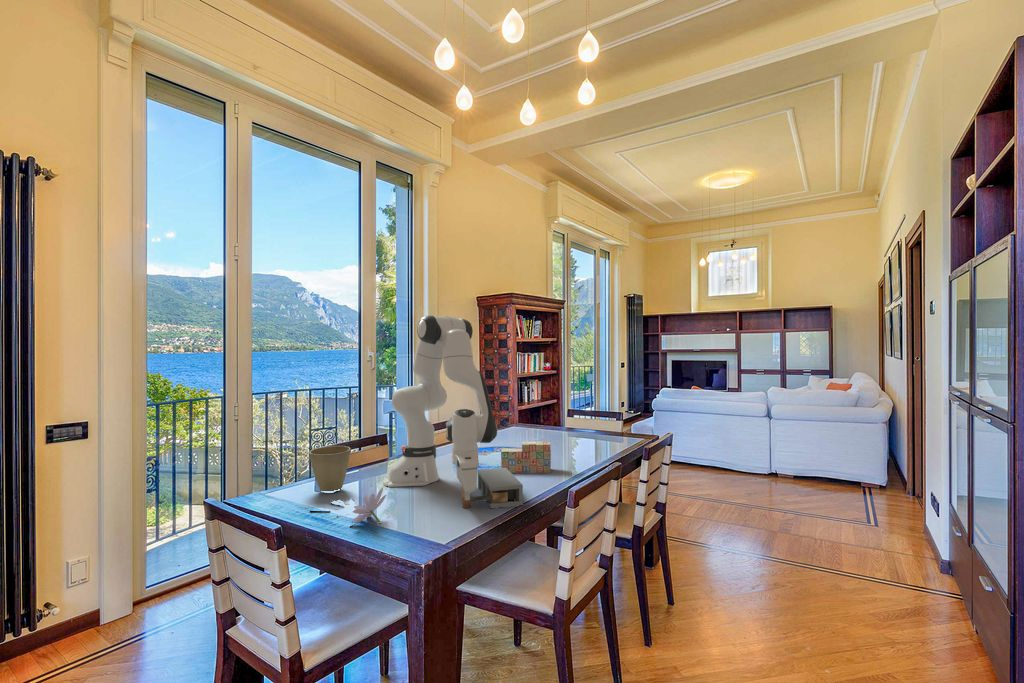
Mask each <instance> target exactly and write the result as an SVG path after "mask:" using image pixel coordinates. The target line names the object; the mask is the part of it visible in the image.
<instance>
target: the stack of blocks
mask: <svg viewBox="0 0 1024 683" xmlns="http://www.w3.org/2000/svg"><path fill="white" fill-rule="evenodd" d="M551 451H552V450H551V442H550V441H541V440H540V441H539V440H537V441H522V442H521V448H501V451H500V457H501V461H500V462H501V463H500V464H501V467H500V468H507V469H508V470H509V471H510V472H511V473H512V474H513V473H514V474H515V473H516V474H518V473H519V474H520V473H522V474H524V473H525V474H527V473H533V474H534V473H535V474H536V473H537V474H538V473H539V474H540V473H543V474H545V473H546V474H547V473H549V474H550V473H551V472H552V466H551V465H552V464H551V463H552V461H551V460H552V458H551V456H552V454H551V453H552V452H551Z"/></svg>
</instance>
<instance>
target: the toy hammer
mask: <svg viewBox="0 0 1024 683" xmlns="http://www.w3.org/2000/svg"><path fill="white" fill-rule="evenodd" d="M461 492H462V493H461V494H462V495H461V498H462V500H461V501H462V508H463V509H469V507H470V508H471V502H472V503H473V502H481V501H486V500H491V502H490V503H500V502H509V501H508V492H507V491H506V490H499V491H490V494H491V495H479V496H478V495H477V496H470V500H465V499H464V489H463V487H462V486H461Z"/></svg>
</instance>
